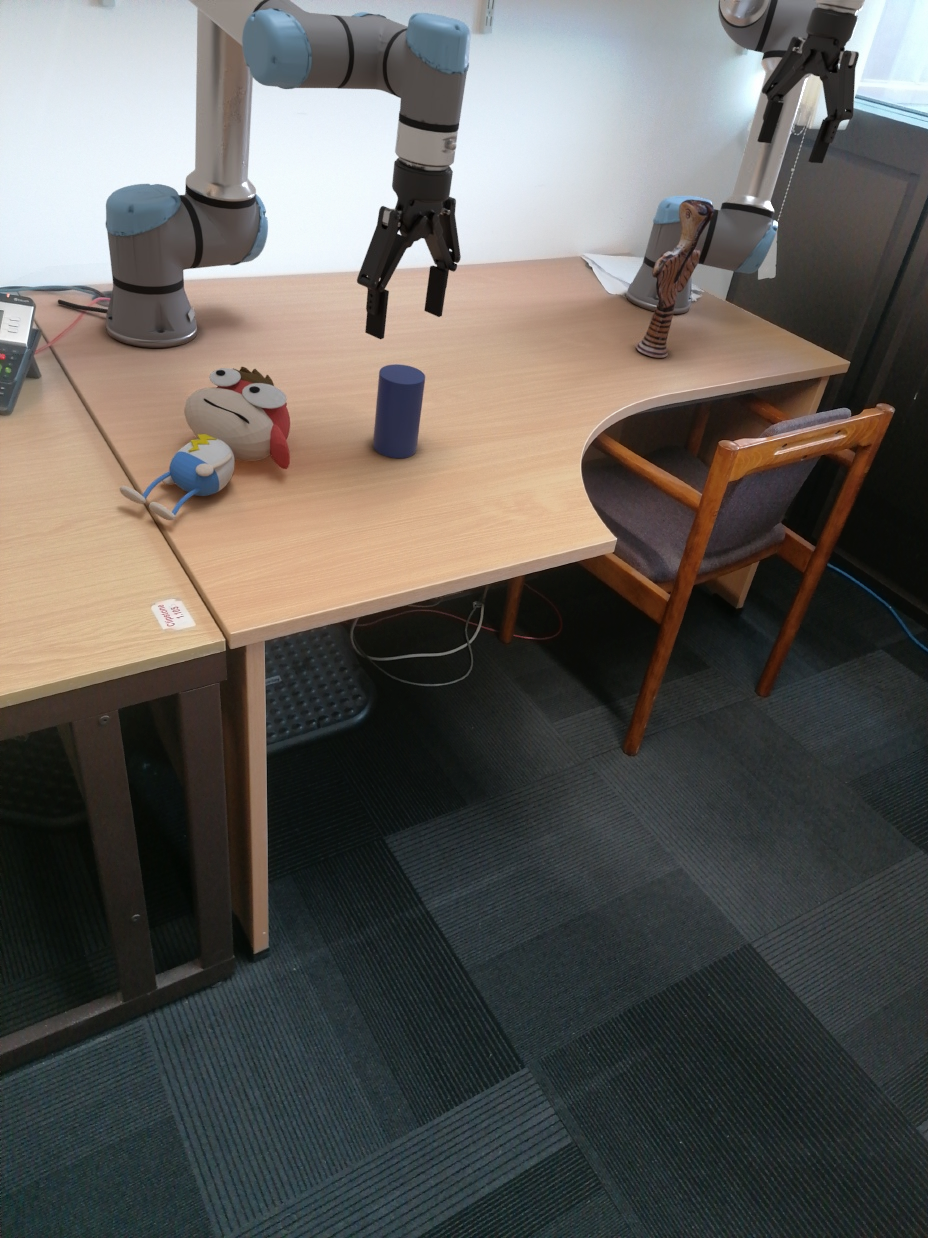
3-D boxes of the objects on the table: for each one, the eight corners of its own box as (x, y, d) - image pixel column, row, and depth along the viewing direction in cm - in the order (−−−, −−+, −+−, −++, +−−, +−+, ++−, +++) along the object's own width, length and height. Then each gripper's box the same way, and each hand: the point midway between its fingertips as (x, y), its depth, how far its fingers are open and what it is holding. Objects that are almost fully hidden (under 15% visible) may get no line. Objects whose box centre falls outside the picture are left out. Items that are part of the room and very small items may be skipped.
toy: (74, 438, 111) (231, 346, 131) (86, 500, 119) (233, 404, 138) (190, 502, 107) (335, 397, 127) (195, 561, 114) (330, 454, 134)
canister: (367, 437, 139) (373, 364, 131) (409, 435, 141) (417, 363, 134) (379, 459, 134) (386, 384, 127) (421, 457, 137) (431, 383, 129)
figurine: (653, 337, 192) (695, 188, 173) (684, 349, 189) (731, 199, 170) (621, 353, 182) (662, 197, 163) (654, 366, 179) (700, 209, 160)
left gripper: (385, 182, 103) (369, 355, 116) (501, 160, 120) (475, 313, 133) (336, 163, 105) (326, 335, 119) (456, 144, 122) (435, 296, 136)
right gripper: (769, -5, 152) (728, 133, 165) (877, 19, 135) (822, 170, 148) (801, 0, 155) (759, 135, 168) (910, 24, 138) (854, 171, 152)
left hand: (404, 324), depth 126 cm, fingers open, 13 cm apart
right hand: (788, 151), depth 158 cm, fingers open, 13 cm apart
